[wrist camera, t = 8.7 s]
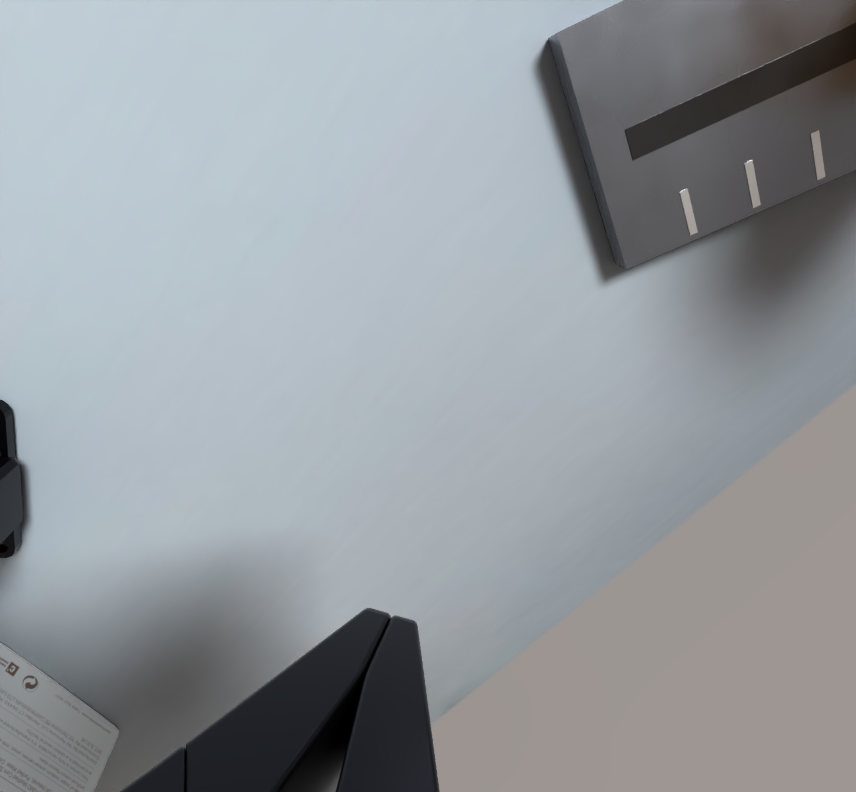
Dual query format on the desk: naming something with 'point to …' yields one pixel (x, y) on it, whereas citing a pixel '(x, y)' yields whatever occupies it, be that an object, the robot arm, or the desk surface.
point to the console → (707, 111)
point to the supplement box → (47, 733)
